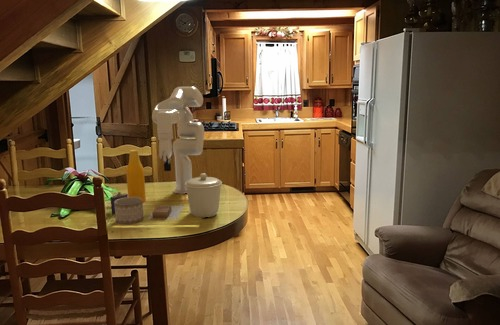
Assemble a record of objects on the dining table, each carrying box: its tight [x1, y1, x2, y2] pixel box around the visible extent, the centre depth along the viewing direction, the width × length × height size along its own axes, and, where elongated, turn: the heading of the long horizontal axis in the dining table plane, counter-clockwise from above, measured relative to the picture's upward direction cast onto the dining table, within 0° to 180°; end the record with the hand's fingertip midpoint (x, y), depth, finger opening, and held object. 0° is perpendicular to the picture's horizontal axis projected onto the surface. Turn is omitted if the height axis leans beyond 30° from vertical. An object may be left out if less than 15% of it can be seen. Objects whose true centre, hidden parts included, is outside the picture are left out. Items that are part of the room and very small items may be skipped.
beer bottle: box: [125, 149, 147, 203], centre depth 217 cm, size 9×9×29 cm
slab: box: [151, 205, 172, 218], centre depth 196 cm, size 3×7×10 cm
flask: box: [109, 191, 128, 215], centre depth 203 cm, size 9×3×11 cm, turn 138°
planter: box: [114, 197, 145, 225], centre depth 190 cm, size 13×13×10 cm
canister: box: [185, 172, 223, 219], centre depth 197 cm, size 18×18×21 cm
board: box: [147, 205, 184, 220], centre depth 201 cm, size 20×14×1 cm
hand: (167, 170), depth 209 cm, fingers closed
